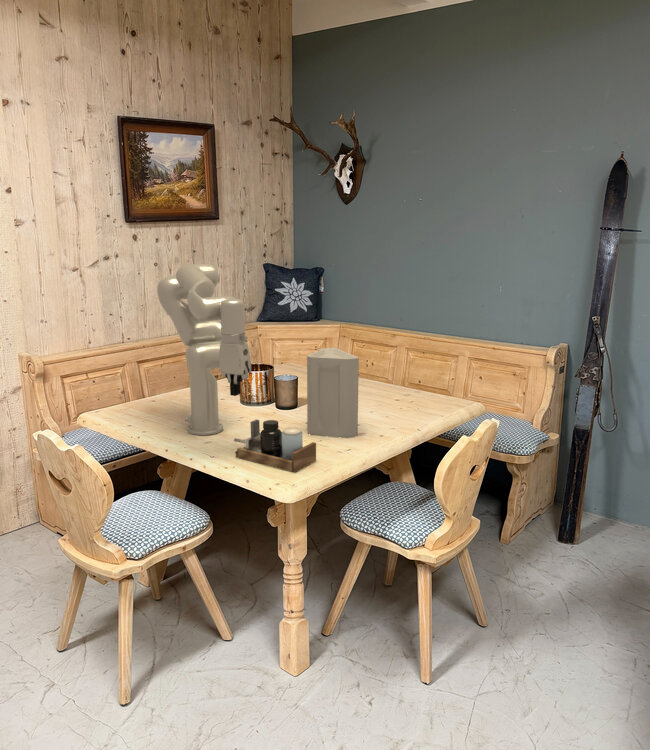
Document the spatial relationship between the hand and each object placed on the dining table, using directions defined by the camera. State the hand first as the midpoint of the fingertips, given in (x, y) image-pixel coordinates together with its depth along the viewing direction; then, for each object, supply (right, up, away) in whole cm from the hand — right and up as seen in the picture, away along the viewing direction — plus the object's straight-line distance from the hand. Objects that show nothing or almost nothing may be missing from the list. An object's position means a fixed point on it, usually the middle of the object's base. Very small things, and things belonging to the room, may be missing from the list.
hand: (235, 394), depth 214 cm
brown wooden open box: (+13, -20, -4) cm, 24 cm away
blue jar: (+19, -21, -7) cm, 29 cm away
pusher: (+3, -18, +3) cm, 19 cm away
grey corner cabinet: (+30, -14, +23) cm, 40 cm away
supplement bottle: (+12, -20, -3) cm, 24 cm away
